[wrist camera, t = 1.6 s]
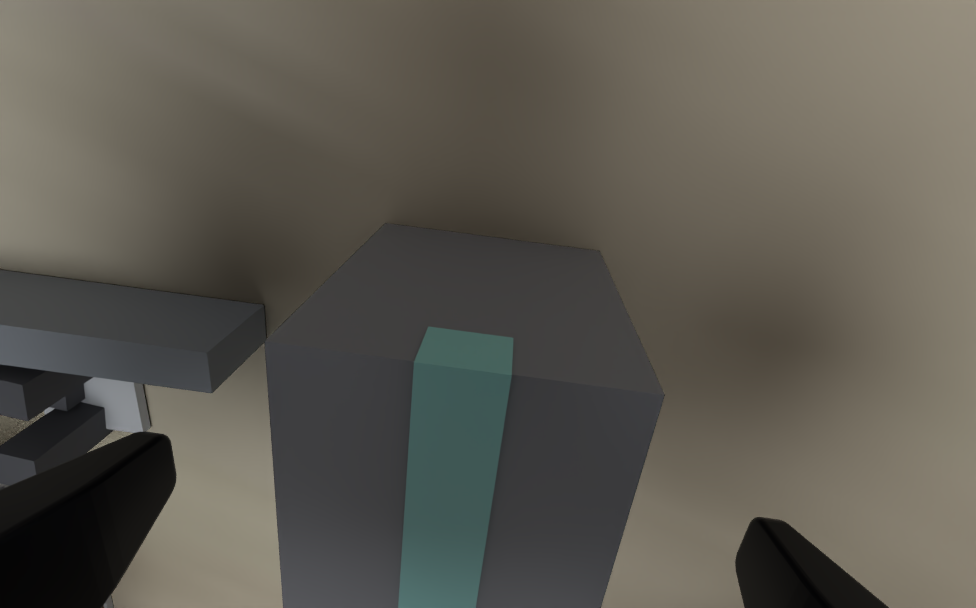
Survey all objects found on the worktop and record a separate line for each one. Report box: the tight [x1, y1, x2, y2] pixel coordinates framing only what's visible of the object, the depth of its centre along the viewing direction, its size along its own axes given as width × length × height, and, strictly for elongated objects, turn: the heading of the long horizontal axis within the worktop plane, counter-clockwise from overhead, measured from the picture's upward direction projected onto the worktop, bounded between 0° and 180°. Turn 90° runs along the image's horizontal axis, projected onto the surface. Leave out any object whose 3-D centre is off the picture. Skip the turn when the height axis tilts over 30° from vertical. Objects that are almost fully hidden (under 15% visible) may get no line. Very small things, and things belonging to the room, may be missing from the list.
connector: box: [265, 223, 665, 608], centre depth 10 cm, size 5×5×6 cm
